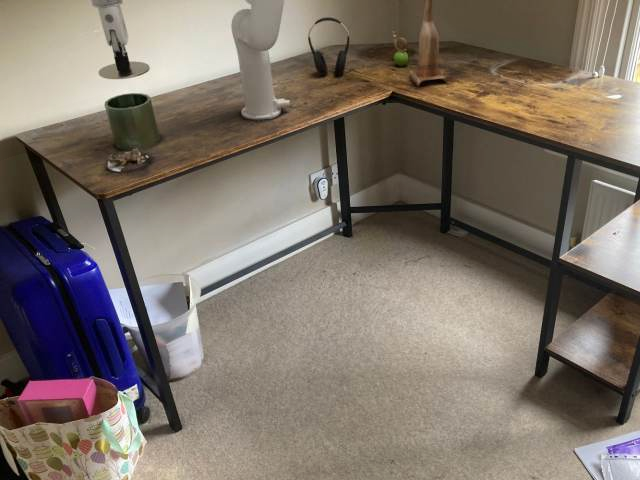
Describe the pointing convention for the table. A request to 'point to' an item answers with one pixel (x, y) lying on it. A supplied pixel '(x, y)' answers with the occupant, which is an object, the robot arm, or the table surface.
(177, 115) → the table surface
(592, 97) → the table surface
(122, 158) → the frog figurine
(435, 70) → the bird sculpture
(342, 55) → the headphones
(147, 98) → the pot
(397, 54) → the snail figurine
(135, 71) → the lid
